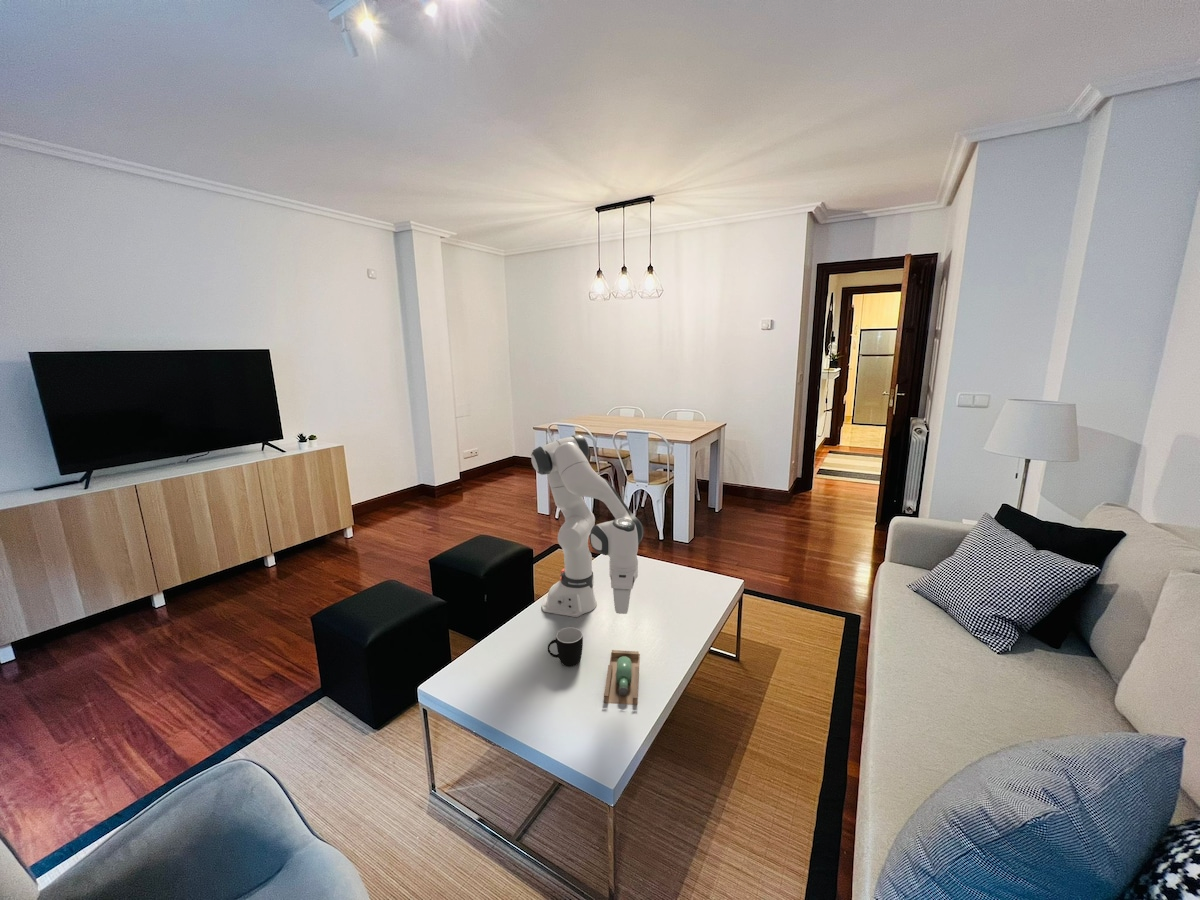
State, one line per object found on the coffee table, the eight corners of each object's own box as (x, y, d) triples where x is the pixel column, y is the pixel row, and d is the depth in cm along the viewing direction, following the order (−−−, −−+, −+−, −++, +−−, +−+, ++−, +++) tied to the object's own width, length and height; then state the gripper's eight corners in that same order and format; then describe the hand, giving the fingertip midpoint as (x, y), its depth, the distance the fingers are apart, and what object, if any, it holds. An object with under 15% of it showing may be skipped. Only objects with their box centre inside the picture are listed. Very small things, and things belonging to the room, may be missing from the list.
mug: (582, 651, 168) (582, 626, 166) (584, 668, 160) (583, 642, 157) (548, 654, 167) (547, 628, 165) (548, 671, 159) (546, 644, 156)
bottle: (616, 668, 159) (615, 698, 146) (617, 655, 158) (615, 685, 144) (631, 669, 159) (630, 699, 145) (631, 656, 157) (631, 686, 144)
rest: (603, 703, 144) (603, 695, 144) (611, 652, 167) (611, 646, 167) (637, 705, 143) (637, 697, 142) (639, 654, 166) (640, 647, 166)
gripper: (616, 555, 159) (616, 593, 163) (610, 586, 140) (610, 628, 143) (635, 556, 159) (634, 594, 162) (632, 587, 139) (631, 629, 142)
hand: (623, 610), depth 152 cm, fingers closed
